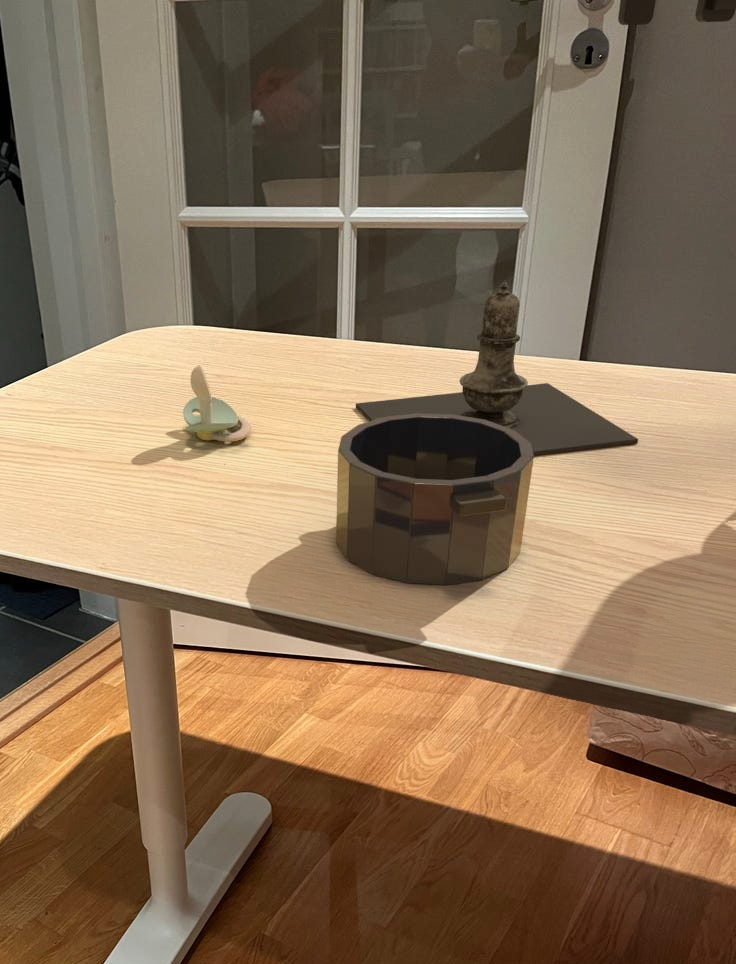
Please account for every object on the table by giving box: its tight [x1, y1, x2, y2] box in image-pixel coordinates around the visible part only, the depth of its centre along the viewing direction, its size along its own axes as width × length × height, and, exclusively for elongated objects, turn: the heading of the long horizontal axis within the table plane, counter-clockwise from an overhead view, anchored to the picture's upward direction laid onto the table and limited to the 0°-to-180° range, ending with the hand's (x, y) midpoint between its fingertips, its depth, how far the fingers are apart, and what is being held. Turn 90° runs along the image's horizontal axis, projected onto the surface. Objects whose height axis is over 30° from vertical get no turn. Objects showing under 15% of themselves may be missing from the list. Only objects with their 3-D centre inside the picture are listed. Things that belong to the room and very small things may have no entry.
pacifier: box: [182, 364, 252, 443], centre depth 83 cm, size 7×6×6 cm
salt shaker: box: [459, 280, 529, 428], centre depth 81 cm, size 6×6×12 cm
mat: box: [355, 382, 639, 457], centre depth 85 cm, size 20×16×1 cm
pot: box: [335, 413, 535, 586], centre depth 64 cm, size 13×16×7 cm
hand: (671, 23), depth 60 cm, fingers open, 8 cm apart
